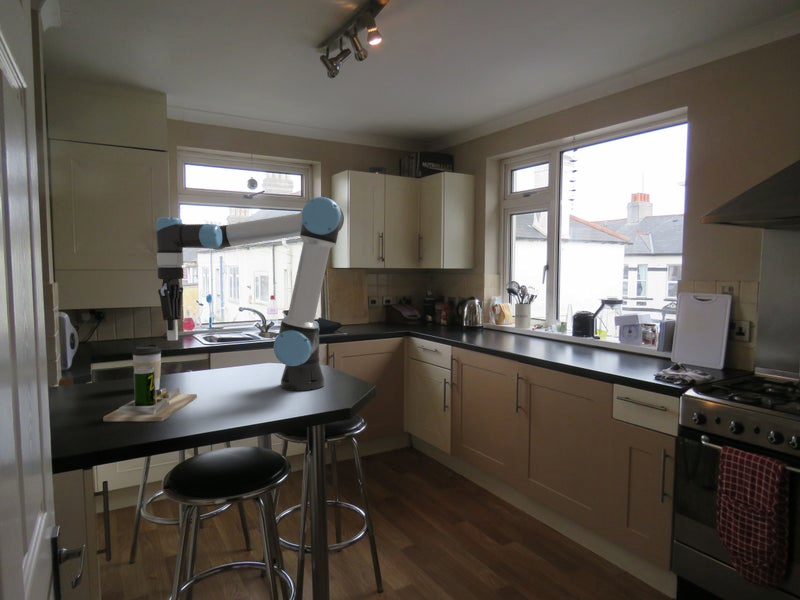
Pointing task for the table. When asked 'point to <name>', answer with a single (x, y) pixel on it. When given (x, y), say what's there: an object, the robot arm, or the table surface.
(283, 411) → the table surface
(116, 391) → the table surface
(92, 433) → the table surface
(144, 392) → the beer can
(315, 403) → the table surface
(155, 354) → the coffee cup
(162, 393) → the bar
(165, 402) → the dock
